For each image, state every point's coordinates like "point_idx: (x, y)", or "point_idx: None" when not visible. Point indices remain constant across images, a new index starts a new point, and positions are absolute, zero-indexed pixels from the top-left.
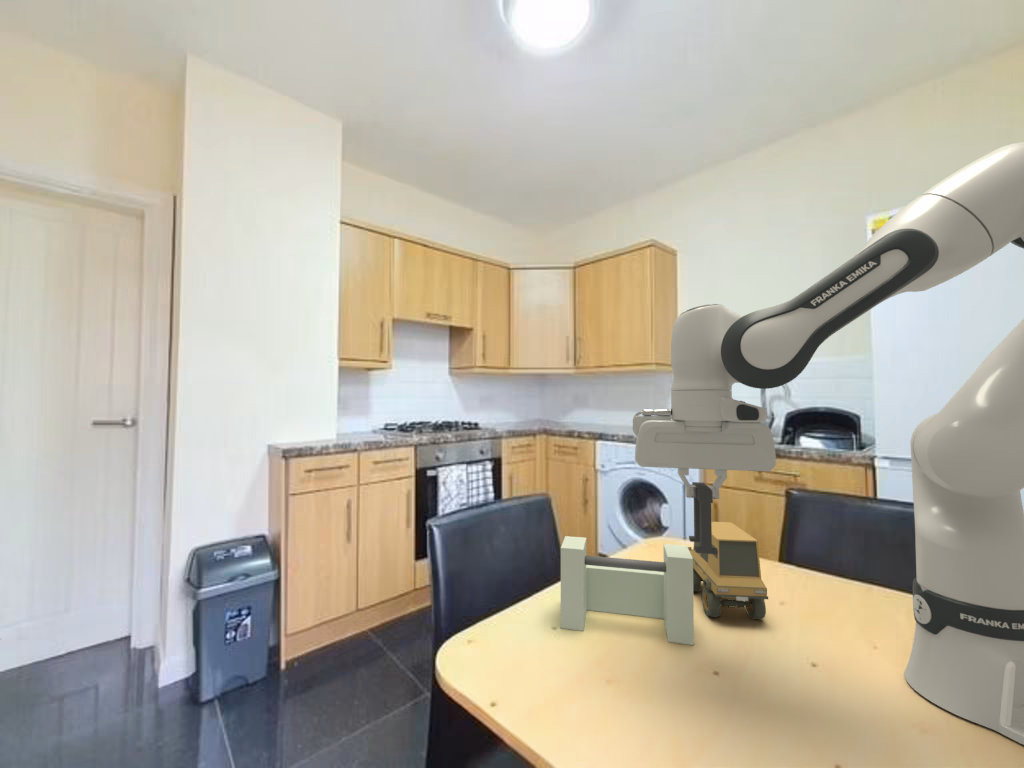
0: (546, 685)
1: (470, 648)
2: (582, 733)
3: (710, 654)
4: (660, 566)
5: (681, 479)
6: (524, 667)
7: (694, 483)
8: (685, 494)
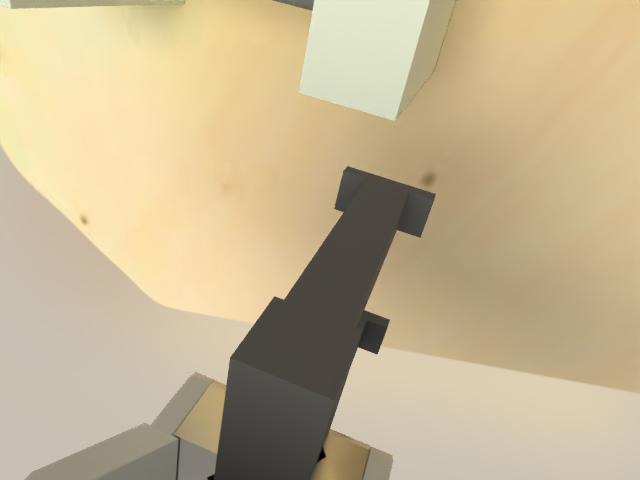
0: (138, 189)
1: (6, 80)
2: (189, 280)
3: (455, 112)
4: (312, 9)
5: (97, 450)
6: (99, 142)
7: (231, 411)
8: (193, 377)
